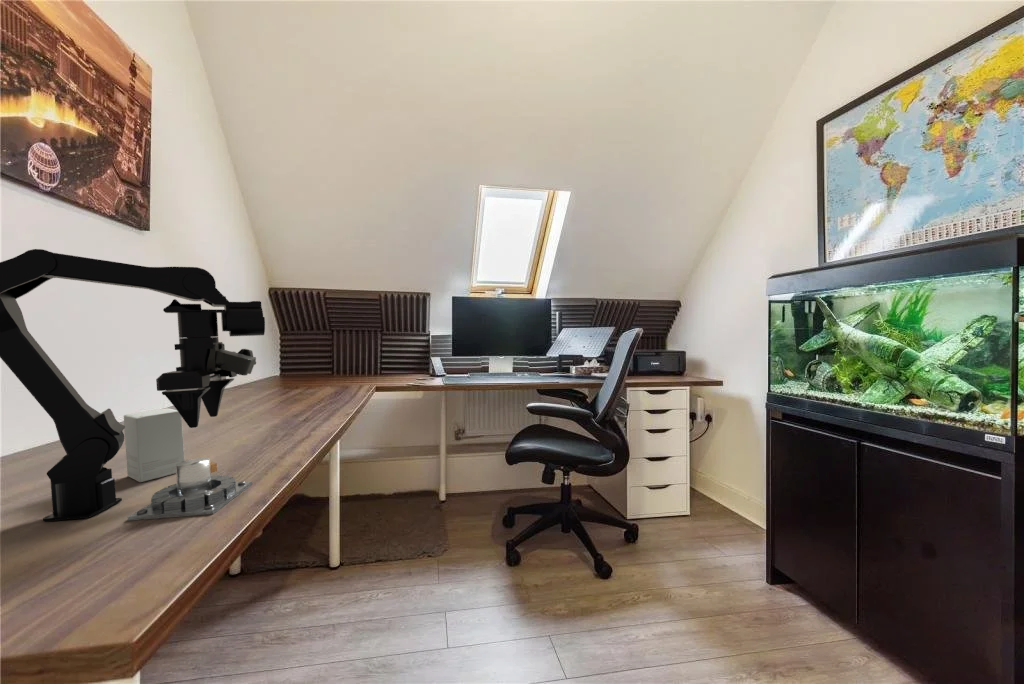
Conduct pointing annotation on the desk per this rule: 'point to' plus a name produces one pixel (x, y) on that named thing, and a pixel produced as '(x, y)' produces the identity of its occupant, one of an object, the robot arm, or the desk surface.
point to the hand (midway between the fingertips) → (204, 421)
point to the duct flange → (191, 500)
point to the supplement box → (153, 443)
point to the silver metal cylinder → (194, 476)
